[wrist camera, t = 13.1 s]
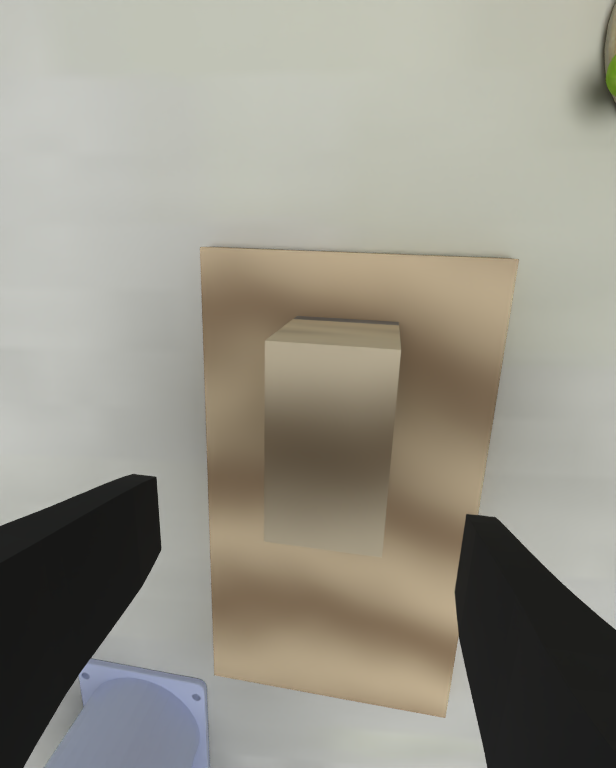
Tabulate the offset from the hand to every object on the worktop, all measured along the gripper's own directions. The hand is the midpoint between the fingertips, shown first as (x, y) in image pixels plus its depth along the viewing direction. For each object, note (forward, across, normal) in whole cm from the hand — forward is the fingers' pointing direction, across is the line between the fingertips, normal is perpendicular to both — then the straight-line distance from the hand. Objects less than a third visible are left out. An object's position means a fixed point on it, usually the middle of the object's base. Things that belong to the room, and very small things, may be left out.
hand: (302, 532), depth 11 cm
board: (+10, 0, +5) cm, 12 cm away
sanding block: (+9, 0, 0) cm, 9 cm away
